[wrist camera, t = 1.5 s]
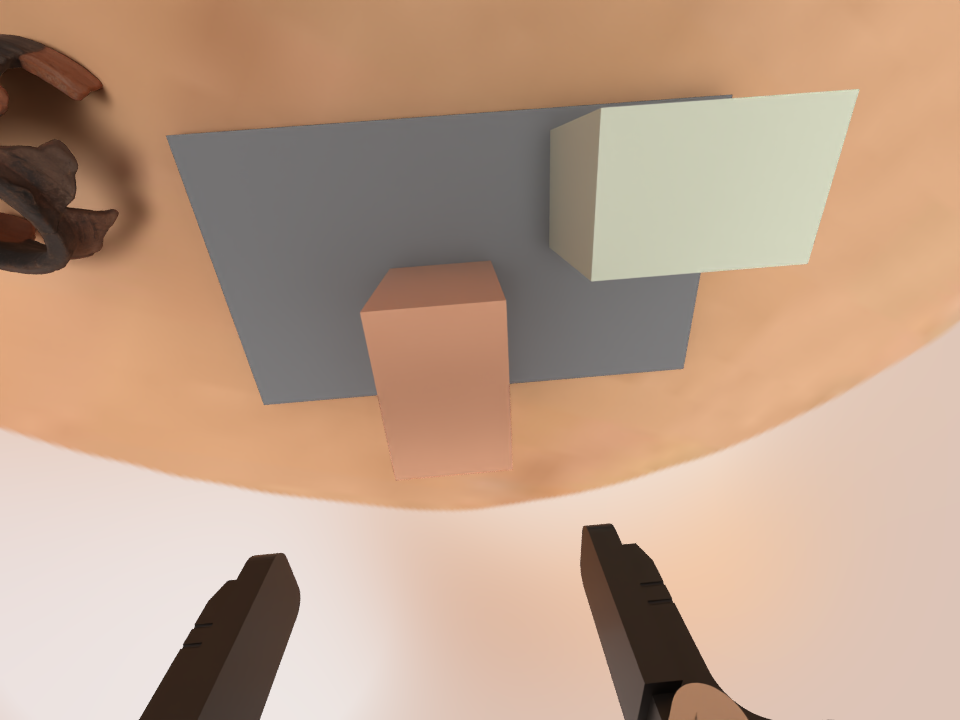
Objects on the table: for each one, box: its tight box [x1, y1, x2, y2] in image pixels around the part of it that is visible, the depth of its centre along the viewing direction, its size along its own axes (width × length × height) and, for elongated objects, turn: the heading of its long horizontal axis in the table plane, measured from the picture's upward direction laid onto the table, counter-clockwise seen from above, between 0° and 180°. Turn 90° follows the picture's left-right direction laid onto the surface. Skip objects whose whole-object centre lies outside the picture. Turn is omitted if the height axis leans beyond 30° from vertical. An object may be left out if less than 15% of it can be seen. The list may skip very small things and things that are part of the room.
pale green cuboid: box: [549, 89, 859, 281], centre depth 18 cm, size 9×6×8 cm, turn 94°
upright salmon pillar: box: [360, 261, 513, 480], centre depth 22 cm, size 9×6×8 cm, turn 4°
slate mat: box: [166, 95, 732, 405], centre depth 24 cm, size 16×29×1 cm, turn 94°
